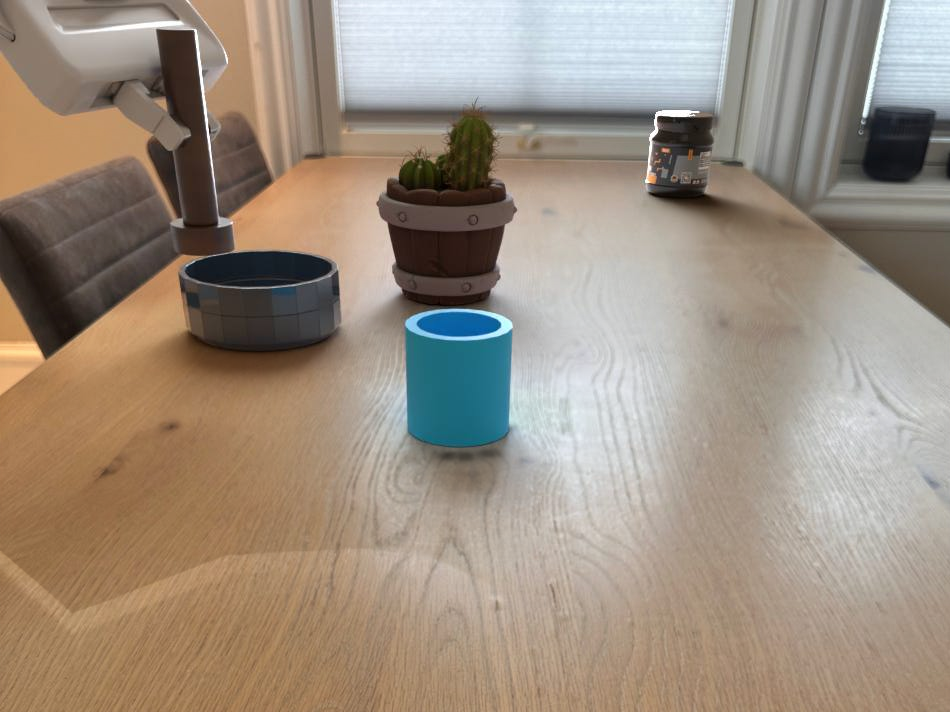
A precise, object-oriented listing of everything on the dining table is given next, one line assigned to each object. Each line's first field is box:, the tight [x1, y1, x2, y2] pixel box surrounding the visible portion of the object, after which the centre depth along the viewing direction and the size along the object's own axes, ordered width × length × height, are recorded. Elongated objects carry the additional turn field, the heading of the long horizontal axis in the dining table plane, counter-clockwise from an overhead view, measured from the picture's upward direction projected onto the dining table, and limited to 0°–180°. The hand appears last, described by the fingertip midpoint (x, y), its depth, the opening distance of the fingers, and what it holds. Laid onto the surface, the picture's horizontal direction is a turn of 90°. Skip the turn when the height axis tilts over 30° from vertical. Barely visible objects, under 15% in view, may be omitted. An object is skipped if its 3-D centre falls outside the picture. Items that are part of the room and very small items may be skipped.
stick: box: [156, 27, 236, 257], centre depth 74 cm, size 5×5×15 cm
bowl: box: [177, 249, 342, 352], centre depth 97 cm, size 15×15×6 cm
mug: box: [404, 308, 513, 448], centre depth 78 cm, size 12×8×8 cm
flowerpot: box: [375, 95, 518, 306], centre depth 105 cm, size 14×15×20 cm
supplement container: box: [645, 110, 715, 199], centre depth 164 cm, size 10×10×12 cm
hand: (197, 140), depth 74 cm, fingers closed on stick, 3 cm apart
